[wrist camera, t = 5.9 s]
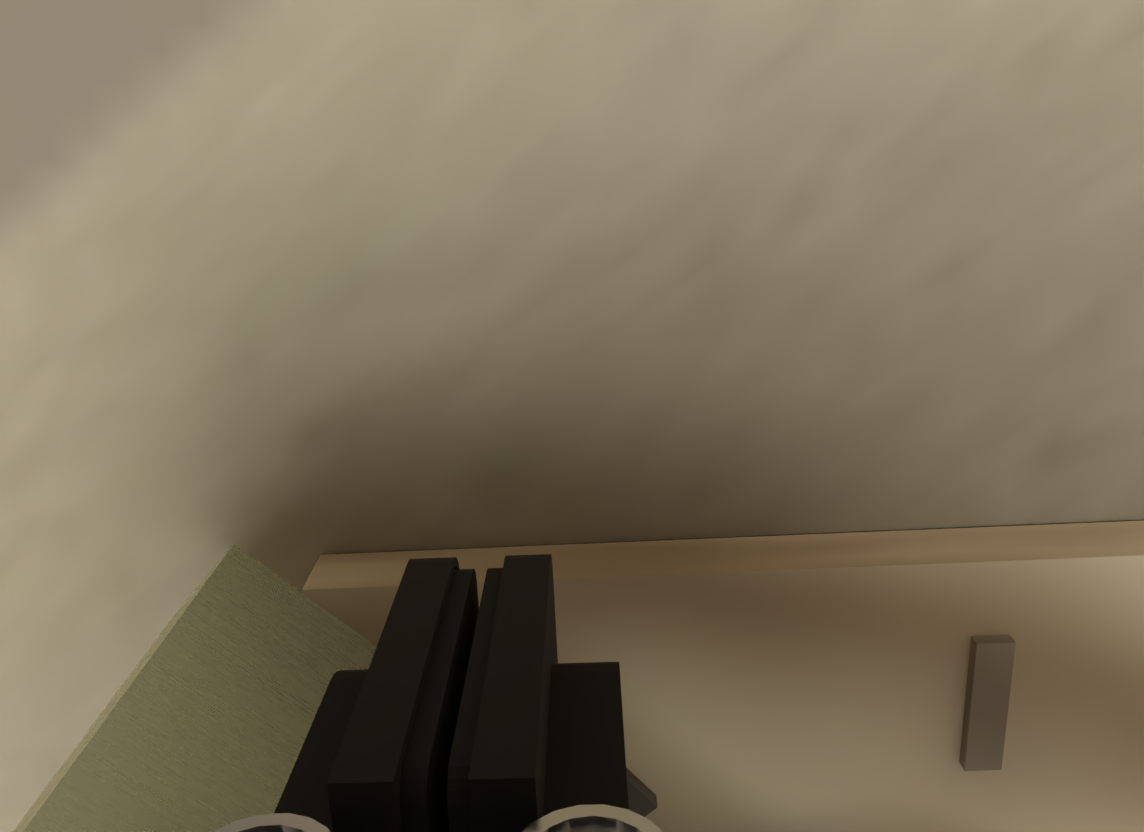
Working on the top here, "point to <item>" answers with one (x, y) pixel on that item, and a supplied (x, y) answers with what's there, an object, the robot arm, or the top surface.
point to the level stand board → (849, 672)
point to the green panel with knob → (206, 712)
